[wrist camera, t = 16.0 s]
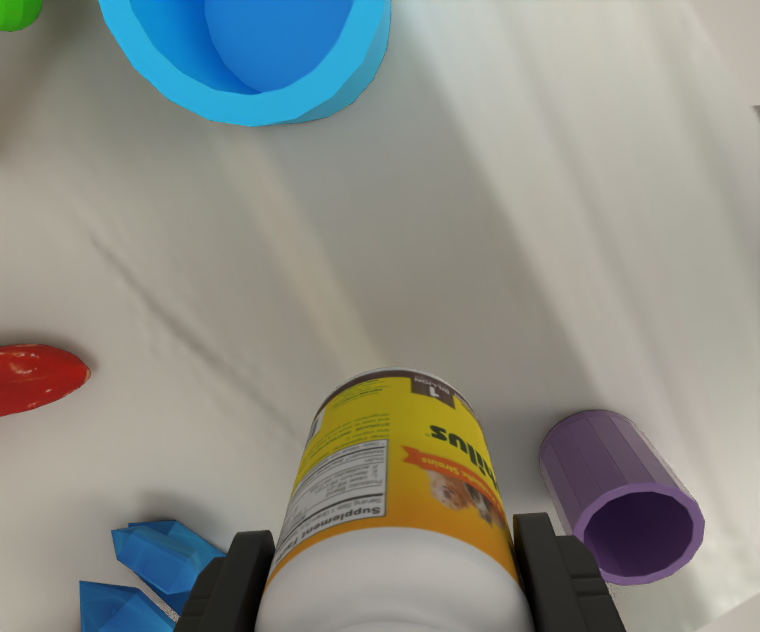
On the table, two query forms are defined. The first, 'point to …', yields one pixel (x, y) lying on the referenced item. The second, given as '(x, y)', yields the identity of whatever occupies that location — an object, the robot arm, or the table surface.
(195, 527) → the table surface
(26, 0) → the decorative model
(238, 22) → the mug
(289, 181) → the table surface
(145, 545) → the crystal
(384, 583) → the supplement bottle
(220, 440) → the table surface
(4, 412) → the vegetable
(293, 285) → the table surface
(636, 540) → the cup
